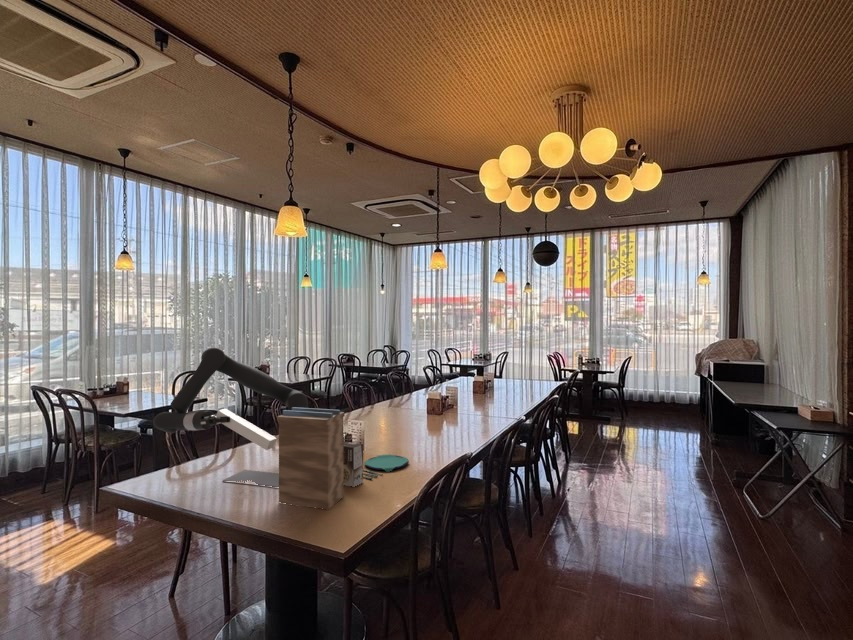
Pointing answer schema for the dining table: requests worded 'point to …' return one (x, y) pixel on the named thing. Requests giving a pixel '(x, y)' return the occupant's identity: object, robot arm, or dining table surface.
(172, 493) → the dining table surface
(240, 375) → the robot arm
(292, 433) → the brown wooden box
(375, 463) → the cutlery set
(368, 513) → the dining table surface
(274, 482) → the mat
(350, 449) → the grey food carton
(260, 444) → the bar
